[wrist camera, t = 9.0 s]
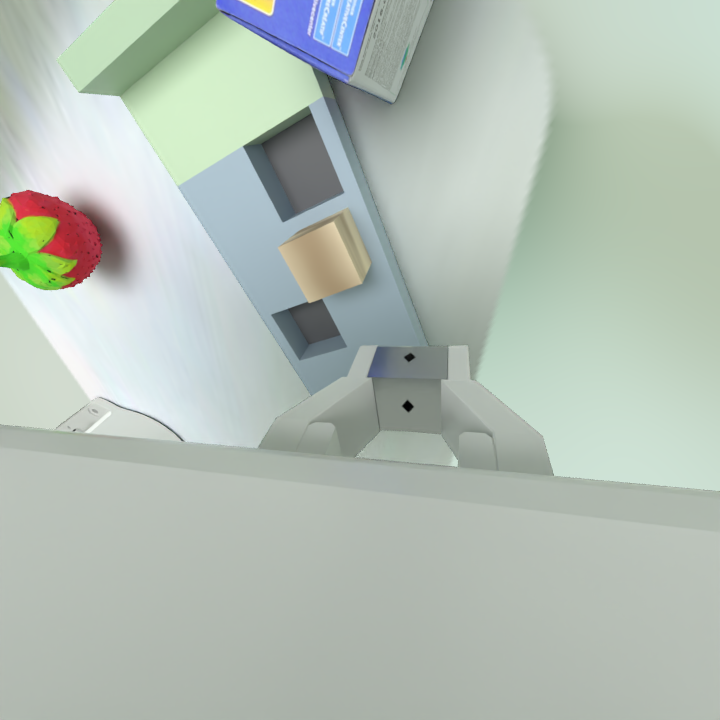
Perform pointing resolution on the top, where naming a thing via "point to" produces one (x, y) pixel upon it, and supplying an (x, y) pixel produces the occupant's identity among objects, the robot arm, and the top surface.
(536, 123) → the top surface
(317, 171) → the trap board
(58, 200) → the strawberry
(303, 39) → the ink cartridge box
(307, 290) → the beech block
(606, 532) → the robot arm
